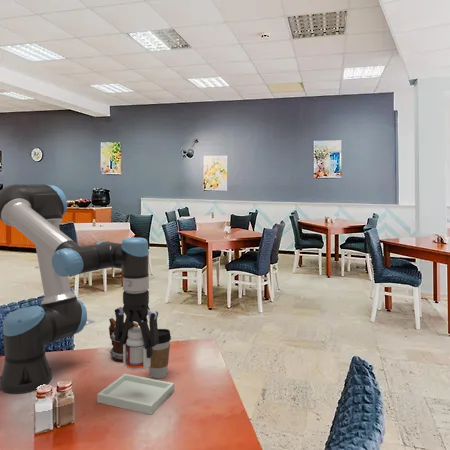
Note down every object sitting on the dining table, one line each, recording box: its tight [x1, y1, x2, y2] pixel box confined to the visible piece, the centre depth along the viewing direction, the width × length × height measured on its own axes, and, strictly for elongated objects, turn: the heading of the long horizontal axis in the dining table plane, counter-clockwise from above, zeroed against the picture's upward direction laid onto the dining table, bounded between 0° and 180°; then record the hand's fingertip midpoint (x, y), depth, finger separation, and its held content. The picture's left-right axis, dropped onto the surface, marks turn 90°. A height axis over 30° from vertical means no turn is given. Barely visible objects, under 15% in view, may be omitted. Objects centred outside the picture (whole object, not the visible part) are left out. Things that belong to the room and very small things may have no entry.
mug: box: [108, 317, 139, 362], centre depth 150 cm, size 12×14×15 cm
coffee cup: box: [148, 328, 172, 379], centre depth 135 cm, size 8×8×15 cm
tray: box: [96, 373, 175, 415], centre depth 121 cm, size 18×14×2 cm
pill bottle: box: [126, 326, 145, 371], centre depth 120 cm, size 6×6×11 cm
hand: (136, 365), depth 120 cm, fingers closed on pill bottle, 6 cm apart
